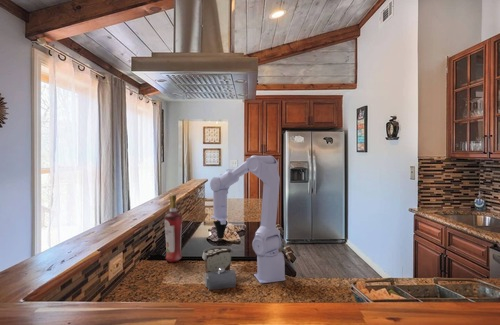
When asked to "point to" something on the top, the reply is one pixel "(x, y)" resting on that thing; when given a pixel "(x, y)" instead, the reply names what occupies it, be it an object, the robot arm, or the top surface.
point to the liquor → (173, 232)
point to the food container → (217, 258)
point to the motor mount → (220, 279)
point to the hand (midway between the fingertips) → (220, 238)
